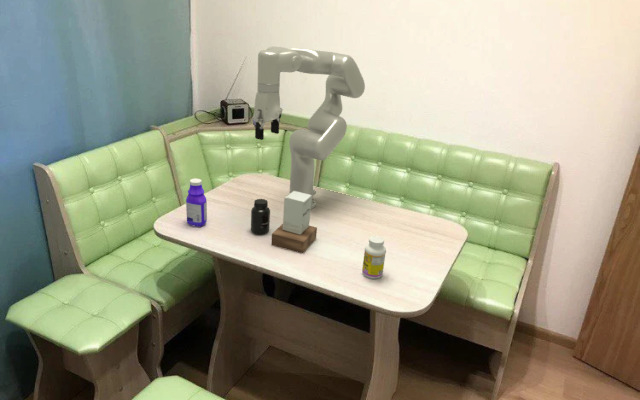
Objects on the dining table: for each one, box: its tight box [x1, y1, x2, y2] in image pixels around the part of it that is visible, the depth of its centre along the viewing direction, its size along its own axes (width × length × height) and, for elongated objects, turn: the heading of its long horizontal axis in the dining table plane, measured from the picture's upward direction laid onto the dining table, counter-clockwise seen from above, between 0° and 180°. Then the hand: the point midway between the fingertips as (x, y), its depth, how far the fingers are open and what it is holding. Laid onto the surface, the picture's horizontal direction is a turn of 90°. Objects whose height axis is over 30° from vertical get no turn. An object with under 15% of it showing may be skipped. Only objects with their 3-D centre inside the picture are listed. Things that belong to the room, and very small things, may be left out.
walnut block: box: [270, 223, 318, 254], centre depth 174 cm, size 12×12×5 cm
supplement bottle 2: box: [361, 235, 387, 280], centre depth 156 cm, size 7×7×13 cm
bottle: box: [185, 178, 208, 227], centre depth 179 cm, size 7×6×17 cm
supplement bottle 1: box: [250, 198, 271, 236], centre depth 178 cm, size 7×7×12 cm
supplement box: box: [282, 191, 313, 235], centre depth 172 cm, size 7×7×13 cm
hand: (267, 135), depth 176 cm, fingers open, 9 cm apart
